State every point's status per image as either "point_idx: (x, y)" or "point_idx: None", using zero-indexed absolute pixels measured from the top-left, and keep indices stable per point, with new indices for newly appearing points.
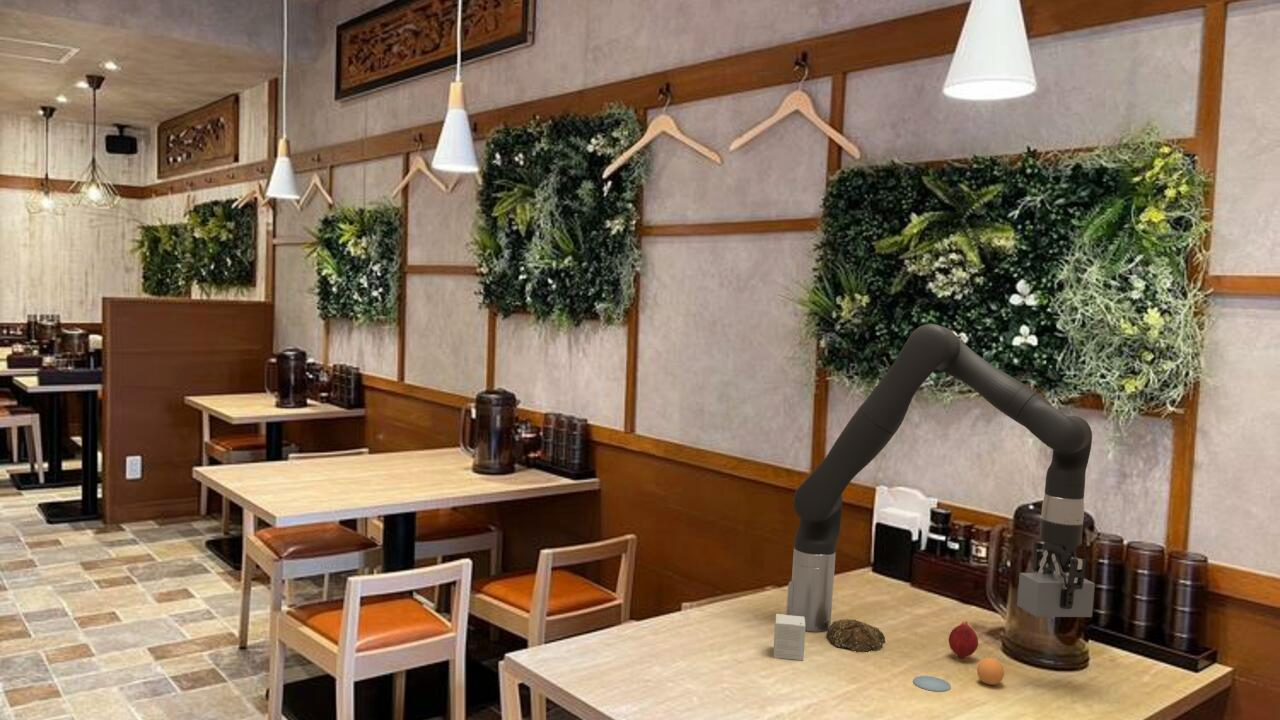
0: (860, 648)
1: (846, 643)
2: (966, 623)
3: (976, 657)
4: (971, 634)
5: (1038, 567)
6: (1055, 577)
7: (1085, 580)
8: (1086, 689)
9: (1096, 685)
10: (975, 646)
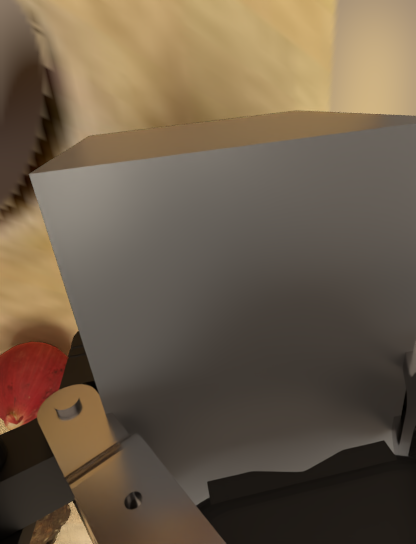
0: (65, 516)
1: (53, 537)
2: (18, 418)
3: (20, 316)
4: (50, 390)
5: (18, 525)
6: (252, 428)
7: (341, 178)
8: (205, 98)
9: (170, 41)
10: (60, 359)
